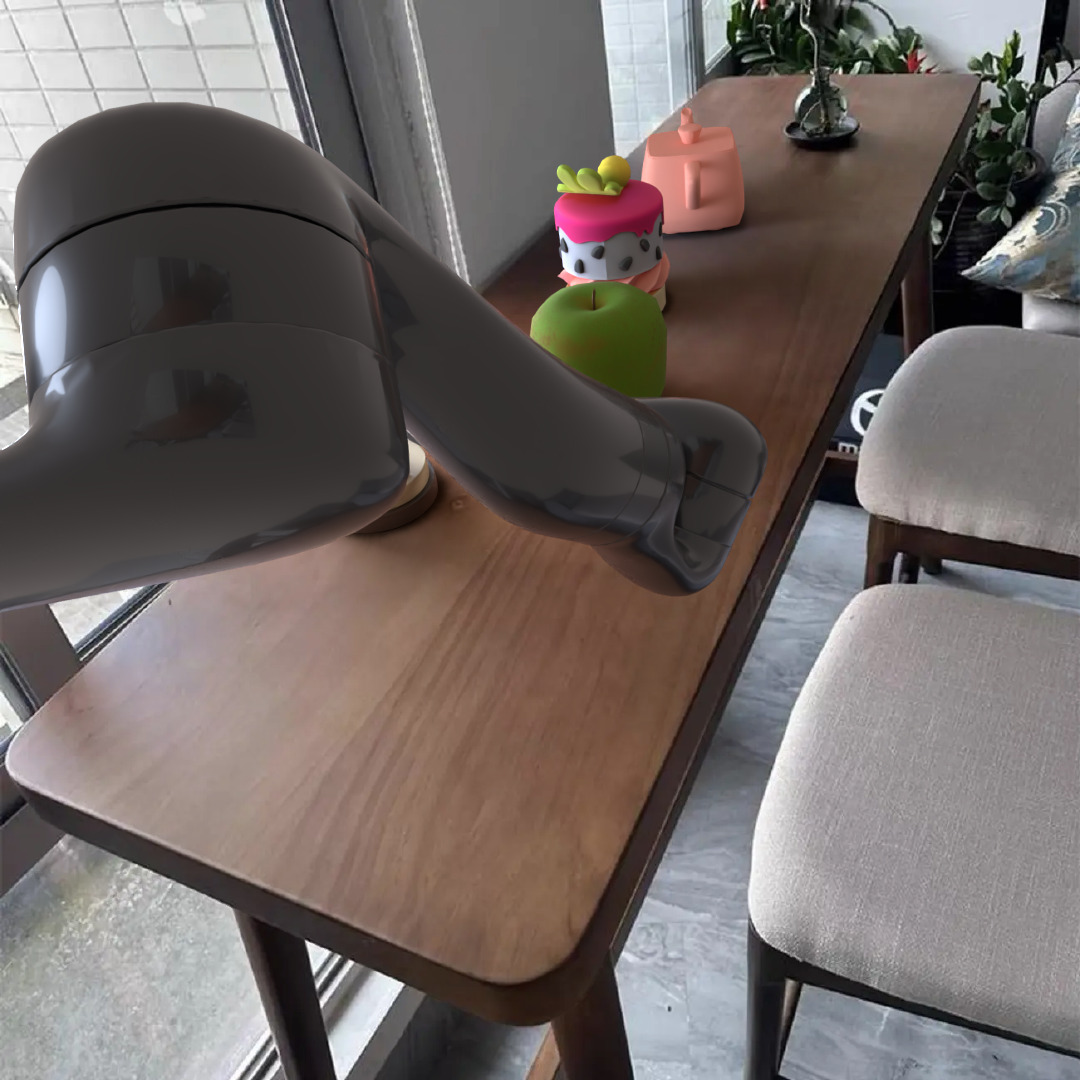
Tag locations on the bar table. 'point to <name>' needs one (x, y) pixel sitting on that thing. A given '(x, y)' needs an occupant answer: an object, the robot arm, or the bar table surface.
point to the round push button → (410, 494)
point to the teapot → (695, 176)
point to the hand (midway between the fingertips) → (323, 340)
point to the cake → (611, 228)
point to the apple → (607, 335)
